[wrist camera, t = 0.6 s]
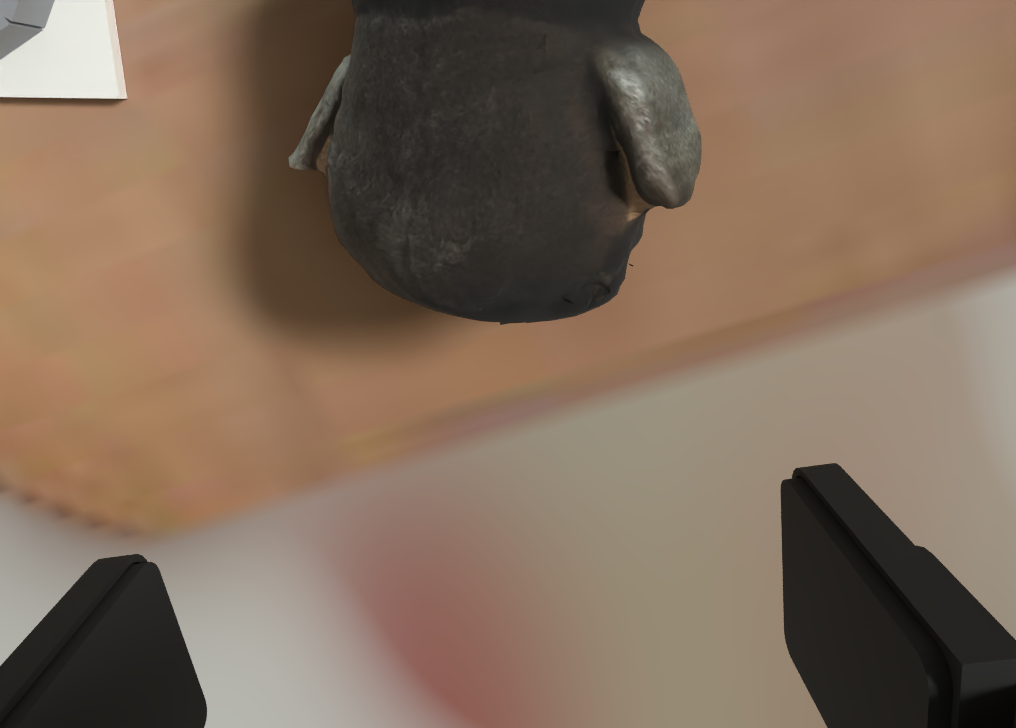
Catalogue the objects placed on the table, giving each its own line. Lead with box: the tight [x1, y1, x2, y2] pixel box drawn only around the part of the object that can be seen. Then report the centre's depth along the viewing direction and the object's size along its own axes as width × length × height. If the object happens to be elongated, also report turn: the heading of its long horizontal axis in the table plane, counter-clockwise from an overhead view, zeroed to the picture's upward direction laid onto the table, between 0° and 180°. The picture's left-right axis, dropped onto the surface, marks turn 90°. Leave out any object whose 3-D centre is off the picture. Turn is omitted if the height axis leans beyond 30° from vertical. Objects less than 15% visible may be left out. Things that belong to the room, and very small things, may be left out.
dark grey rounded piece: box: [289, 0, 701, 325], centre depth 31 cm, size 20×21×13 cm
